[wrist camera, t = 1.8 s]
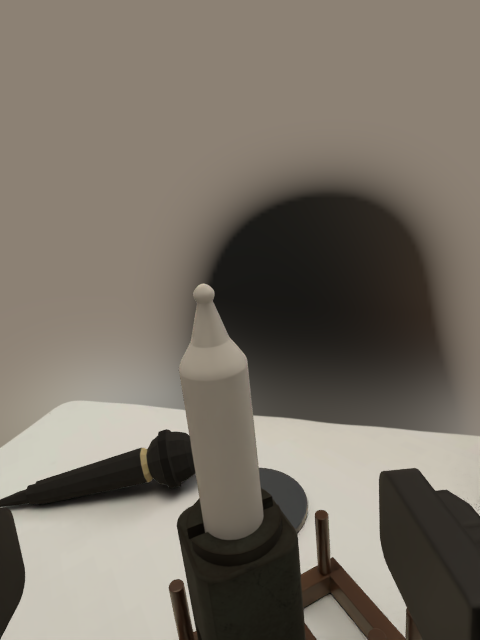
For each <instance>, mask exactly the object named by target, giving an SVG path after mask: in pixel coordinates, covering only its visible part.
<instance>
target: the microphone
mask: <svg viewBox="0 0 480 640" xmlns="http://www.w3.org/2000/svg"><path fill="white" fill-rule="evenodd" d="M194 474H195V466H194V460H193V454H192V448H191V441H190V436H189V435H188V434H186V433H182V432H171V431H170V430H167V429H166V430H163V431H160V432H159V433H158V436H157V437H156V438H155V439H154V440H152V442H151V444H150V446H149V448H148V449H145V448H139V449H136V450H133V451H130V452H127V453H124V454H121V455H118V456H114V457H111V458H108V459H105V460H102V461H99V462H96V463H93V464H90V465H87V466H83V467H80V468H77V469H74V470H71V471H68V472H65V473H62V474H59V475H56V476H53V477H49V478H46V479H43V480H40V481H37V482H36V484H33V485H29V486H28V487H27V489H26V490H23V491H20V492H17V493H15V494H13V495H10V496H8V497H5V498H3V499H1V500H0V507H3V506H13V505H22V504H27V503H29V504H39V505H41V504H46V503H51V502H56V501H60V500H65V499H70V498H75V497H80V496H85V495H90V494H94V493H99V492H104V491H109V490H114V489H119V488H123V487H128V486H133V485H138V484H143V483H148V482H151V480H152V479H153V478H154V479H155V480H156V481H157V482H159V483H160V484H165V485H168V486H169V488H174V487H179V486H181V484H182V482H183V481H185V480H187V479H189V478H190V477H191V476H193V475H194Z"/></svg>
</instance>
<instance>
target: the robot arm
mask: <svg viewBox="0 0 480 640" xmlns="http://www.w3.org/2000/svg"><path fill="white" fill-rule="evenodd" d="M379 512H380V540H381V546H382V551H383V554H384V558H385V561H386V564H387V566H388V568H389V570H390V572H391V574H392V576H393V579H394V581H395V583H396V585H397V587H398V589H399V591H400V593H401V595H402V597H403V600H404V602H405V604H406V606H407V608H408V610H409V612H410V614H411V616H412V618H413V621H414V623H415V625H416V627H417V629H418V631H419V633H420V635H421V637H422V639H423V640H480V516H479V515H478V514H477V512H476V511H475V510H474V509H473V508H472V507H471V505H470V504H468V503H467V502H465V501H464V500H462V499H460V498H459V497H457V496H456V495H454V494H452V493H451V492H449V491H448V490H440V491H435V490H434V489H433V488H432V486H431V485H430V484H429V482H428V481H427V480H426V479H425V477H424V476H423V475H422V473H421V472H420V471H419V470H418V469H416V468H412V469H401V470H391V471H382V472H381V473H380V477H379ZM24 583H25V568H24V563H23V559H22V554H21V550H20V545H19V541H18V536H17V532H16V527H15V523H14V518H13V515H12V513H11V511H10V510H9V509H8V508H6V507H3V508H0V639H1V637H2V635H3V633H4V631H5V629H6V627H7V625H8V623H9V621H10V620H11V618H12V616H13V614H14V612H15V610H16V608H17V606H18V604H19V602H20V600H21V597H22V594H23V589H24Z"/></svg>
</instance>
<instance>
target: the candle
mask: <svg viewBox="0 0 480 640" xmlns="http://www.w3.org/2000/svg"><path fill="white" fill-rule="evenodd" d="M193 295H194V298H195V300H196V302H197V308H196V314H195V320H194V326H193V333H192V338H191V342H190V344H189V346H188V348H187V350H186V352H185V354H184V356H183V358H182V360H181V362H180V366H179V373H180V379H181V385H182V392H183V398H184V404H185V410H186V417H187V423H188V429H189V435H190V441H191V448H192V454H193V460H194V466H195V473H196V479H197V485H198V491H199V497H200V499H198V500H197V502H196V503H195V504H194V505H193V506H191V507H189V508H188V509H186V510H185V511H184V512H183V513H182V514H181V515H180V517H179V519H178V522H177V529H178V534H179V540H180V545H181V551H182V556H183V562H184V567H185V572H186V578H187V583H188V589H189V594H190V599H191V605H192V610H193V616H194V621H195V626H196V632H197V637H198V640H306V637H305V624H304V612H303V599H302V586H301V573H300V560H299V547H298V537H297V532H296V530H295V529H294V527H293V526H292V524H291V523H290V521H289V520H288V519H287V517H286V516H285V515H284V513H283V512H282V511H281V509H280V507H279V505H277V504H276V502H275V501H274V500H273V498H272V496H271V495H270V494H269V493H268V492H267V491H266V490H264V489H262V488H261V486H260V476H259V467H258V458H257V448H256V439H255V429H254V420H253V411H252V402H251V392H250V382H249V373H248V364H247V359H246V356H245V355H244V353H243V352H242V351H241V350H240V349H239V347H238V346H237V345H236V344H235V343H234V342H233V341H232V340H231V339H230V338H229V336H228V334H227V332H226V330H225V327H224V325H223V323H222V321H221V318H220V316H219V314H218V312H217V310H216V308H215V305H214V303H213V301H212V300H213V298H214V291H213V289H212V288H211V287H210V286H209V285H206V284H201V285H199V286H198V287H197V288H196V289H195V291H194V293H193Z"/></svg>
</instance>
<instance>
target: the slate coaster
mask: <svg viewBox="0 0 480 640" xmlns="http://www.w3.org/2000/svg"><path fill="white" fill-rule="evenodd" d="M259 476H260V486H261V488H262V489H264V490H266V491H267V492H268V493H269V494H270V495H271V496H272V498H273V500H274V501H275V502H276V504H277V505H279V507H280V509H281V511H282V512H283V513H284V515H285V516H286V517H287V519H288V520H289V521H290V523H291V524H292V526H293V527H294V528H295V529H296V532H297V533H298V531H299V530H300V529H301V528H302V526H303V524H304V522H305V520H306V517H307V511H308V505H307V498H306V495H305V492H304V490H303V489H302V487H301V486H300V485H299V483H298V482H297V481H295V480H294V479H293V478H292V477H290V476H288V475H286V474H284V473H282V472H279V471H276V470H272V469H267V468H259ZM199 499H200V498H199Z"/></svg>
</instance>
